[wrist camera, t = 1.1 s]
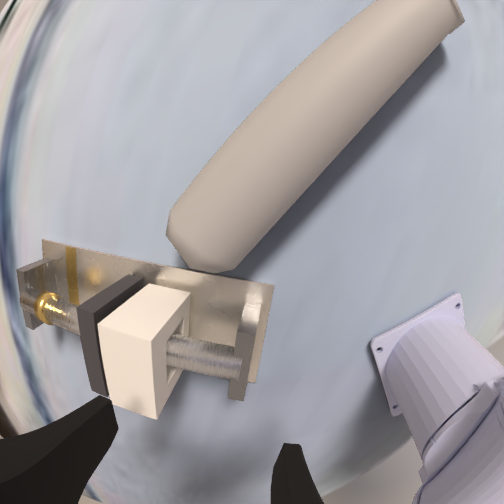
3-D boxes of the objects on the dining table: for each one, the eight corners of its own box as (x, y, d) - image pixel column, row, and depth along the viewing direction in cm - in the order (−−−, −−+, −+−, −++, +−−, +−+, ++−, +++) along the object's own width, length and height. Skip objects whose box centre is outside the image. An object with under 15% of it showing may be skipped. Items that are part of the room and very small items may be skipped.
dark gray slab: (143, 277, 18) (93, 313, 12) (144, 349, 19) (107, 397, 13) (128, 274, 18) (76, 307, 12) (131, 345, 19) (91, 390, 14)
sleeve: (191, 292, 17) (151, 341, 11) (187, 361, 19) (156, 419, 13) (149, 283, 18) (97, 324, 12) (149, 351, 19) (111, 403, 13)
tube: (226, 309, 14) (476, 27, 8) (138, 253, 12) (428, -35, 6) (221, 262, 19) (430, 35, 13) (157, 216, 17) (387, -14, 11)
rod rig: (274, 284, 18) (271, 317, 13) (255, 381, 19) (248, 425, 15) (43, 239, 19) (4, 251, 14) (52, 321, 21) (21, 342, 16)
